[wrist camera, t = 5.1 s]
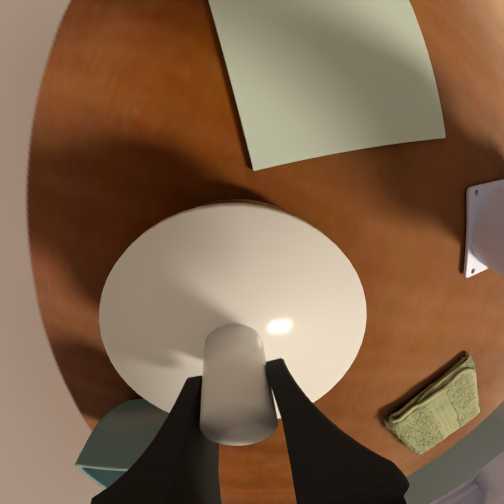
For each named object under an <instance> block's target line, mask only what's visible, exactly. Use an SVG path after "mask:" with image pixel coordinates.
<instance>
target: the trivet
mask: <svg viewBox="0 0 504 504" xmlns="http://www.w3.org/2000/svg"><path fill="white" fill-rule="evenodd" d="M208 2H209V5H210V9H211V12H212V16H213V19H214V23H215V26H216V30H217V34H218V37H219V41H220V44H221V48H222V52H223V55H224V59H225V63H226V67H227V70H228V74H229V78H230V82H231V85H232V89H233V93H234V97H235V101H236V104H237V108H238V112H239V116H240V120H241V124H242V128H243V132H244V136H245V140H246V144H247V148H248V152H249V156H250V160H251V164H252V168H253V171H256V170H260V169H264V168H268V167H273V166H277V165H281V164H286V163H291V162H295V161H300V160H305V159H310V158H315V157H320V156H325V155H330V154H335V153H341V152H347V151H352V150H358V149H364V148H371V147H377V146H384V145H391V144H398V143H406V142H414V141H422V140H431V139H441V138H446V134H445V128H444V121H443V115H442V110H441V105H440V100H439V95H438V90H437V86H436V81H435V77H434V73H433V69H432V66H431V62H430V59H429V55H428V52H427V48H426V45H425V42H424V39H423V36H422V33H421V30H420V27H419V24H418V22H417V19H416V16H415V14H414V11H413V9H412V6H411V4H410V1H409V0H208Z"/></svg>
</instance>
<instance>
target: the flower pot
mask: <svg viewBox="0 0 504 504" xmlns="http://www.w3.org/2000/svg"><path fill="white" fill-rule="evenodd" d="M168 415H169V413H168V412H166V411H164V410H162V409H160V408H158V407H156V406H155V405H153V404H151V403H150V402H148V401H147V400H145V399H144V398H143V399H133V400H128V401H126V402H124V403H122V404H120V405H118V406H117V407H115V408H114V409H112V410H111V411H109V412H108V413H107V414H106V415H105V416H104V417H103V418H102V419H101V420H100V421H99V422H98V423H97V425H96V426H95V428H94V430H93V431H92V433H91V435H90V437H89V438H88V440H87V442H86V444H85V446H84V448H83V450H82V452H81V454H80V455H79V457H78V459H77V462H76V463H75V466H76V467H77V468H78V469H79V470H80V471H81V472H83V473H84V474H85V475H87V476H88V477H89V478H90V479H92V480H93V481H95V482H96V483H97V484H99V485H100V486H102V487H103V488H104V489H106V488H108V487H109V486H110V485H112V484H113V483H114V482H115V481H116V480H118V479H119V478H120V477H121V476H122V475H123V474H124V473H125V472H126V471H127V470H128V469H129V468H130V467H131V466H132V465H133V464H134V463H135V462H136V461H137V460H138V458H139V457H140V456H141V455H142V454H143V453H144V451H145V450H146V449H147V447H148V446H149V445H150V443H151V442H152V441H153V439H154V438H155V436H156V435H157V433H158V431H159V430H160V428H161V427H162V425H163V423H164V422H165V420H166V418H167V417H168ZM220 495H221V494H220ZM221 502H222V500H221Z"/></svg>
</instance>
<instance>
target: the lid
mask: <svg viewBox="0 0 504 504" xmlns="http://www.w3.org/2000/svg"><path fill="white" fill-rule="evenodd" d="M99 325H100V332H101V338H102V341H103V344H104V347H105V350H106V352H107V354H108V357H109V359H110V361H111V363H112V364H113V366H114V367H115V369H116V370H117V372H118V373H119V375H120V376H121V377H122V378H123V379H124V381H125V382H126V383H127V384H128V385H129V386H130V387H131V388H132V389H133V390H134V391H135V392H136V393H138V394H139V395H140V396H141V397H143V398H144V399H145V400H147V401H148V402H150V403H151V404H153V405H155V406H156V407H158V408H160V409H162V410H164V411H166V412H168V413H170V411H171V409H172V407H173V405H174V404H175V402H176V400H177V398H178V396H179V394H180V392H181V389H182V387H183V385H184V383H185V381H186V379H187V378H189V377H194V376H200V375H202V390H201V408H200V429H201V432H202V433H203V434H204V435H205V436H206V437H207V438H209V439H210V440H212V441H215V442H217V443H221V444H225V445H235V446H239V445H249V444H253V443H257V442H260V441H262V440H264V439H266V438H268V437H269V436H271V435H272V434H273V433H274V432H275V430H276V429H277V426H278V419H279V418H281V416H280V413H279V410H278V407H277V403H276V400H275V397H274V394H273V391H272V388H271V385H270V381H269V378H268V375H267V369H266V362H267V361H271V360H275V359H279V358H282V359H284V361H285V364H286V366H287V368H288V370H289V372H290V374H291V375H292V377H293V378H294V380H295V381H296V383H297V384H298V386H299V387H300V388H301V389H302V391H303V392H304V393H305V395H306V396H307V397H308V398H309V399H310V401H311V402H312V403H313V402H315V401H316V400H318V399H319V398H321V397H322V396H323V395H324V394H325V393H327V392H328V391H329V390H330V389H331V388H332V387H333V386H334V385H335V384H336V383H337V382H338V381H339V380H340V379H341V378H342V377H343V376H344V374H345V373H346V372H347V370H348V369H349V368H350V366H351V364H352V363H353V361H354V359H355V357H356V355H357V353H358V351H359V348H360V346H361V344H362V340H363V336H364V332H365V326H366V301H365V296H364V291H363V287H362V285H361V282H360V280H359V277H358V275H357V273H356V271H355V269H354V268H353V266H352V264H351V263H350V261H349V260H348V258H347V257H346V256H345V255H344V254H343V253H342V251H341V250H340V249H339V248H338V247H337V246H336V245H335V244H334V243H333V242H332V241H331V240H330V239H329V238H328V237H327V236H325V235H324V234H323V233H322V232H321V231H320V230H318V229H317V228H315V227H314V226H312V225H311V224H309V223H307V222H306V221H304V220H303V219H301V218H298V217H296V216H294V215H291V214H289V213H287V212H284V211H281V210H278V209H274V208H270V207H267V206H262V205H255V204H247V203H219V204H212V205H205V206H199V207H196V208H192V209H189V210H185V211H182V212H179V213H177V214H175V215H172V216H170V217H168V218H166V219H164V220H162V221H160V222H159V223H157V224H155V225H154V226H152V227H151V228H149V229H148V230H146V231H145V232H144V233H143V234H142V235H140V236H139V237H138V238H137V239H136V240H135V241H134V242H133V243H132V244H131V245H130V246H129V247H128V248H127V250H126V251H125V252H124V253H123V255H122V256H121V257H120V258H119V259H118V261H117V262H116V263H115V265H114V267H113V268H112V270H111V272H110V274H109V276H108V277H107V280H106V283H105V285H104V288H103V291H102V295H101V300H100V306H99Z"/></svg>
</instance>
